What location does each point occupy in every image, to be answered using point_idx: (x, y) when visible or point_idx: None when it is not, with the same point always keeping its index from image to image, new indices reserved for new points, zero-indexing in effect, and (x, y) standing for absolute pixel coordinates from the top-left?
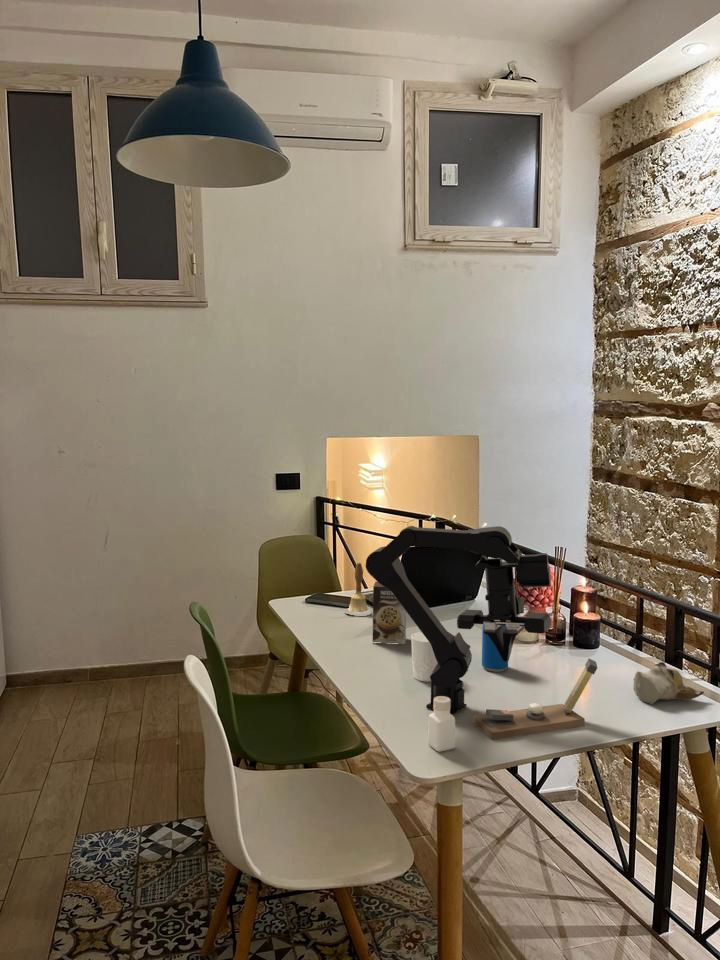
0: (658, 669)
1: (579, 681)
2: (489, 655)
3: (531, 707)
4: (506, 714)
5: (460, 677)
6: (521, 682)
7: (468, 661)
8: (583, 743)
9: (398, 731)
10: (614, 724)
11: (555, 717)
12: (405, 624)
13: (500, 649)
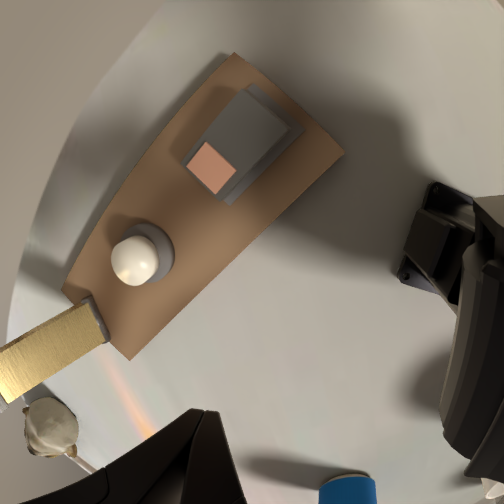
0: (30, 440)
1: (25, 361)
2: (359, 501)
3: (136, 244)
4: (202, 146)
5: (474, 244)
6: (278, 455)
7: (479, 340)
8: (47, 186)
9: (495, 35)
10: (44, 310)
11: (104, 268)
12: (501, 496)
13: (200, 479)
